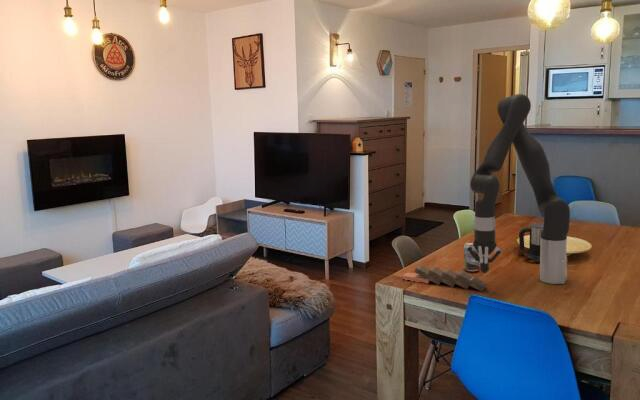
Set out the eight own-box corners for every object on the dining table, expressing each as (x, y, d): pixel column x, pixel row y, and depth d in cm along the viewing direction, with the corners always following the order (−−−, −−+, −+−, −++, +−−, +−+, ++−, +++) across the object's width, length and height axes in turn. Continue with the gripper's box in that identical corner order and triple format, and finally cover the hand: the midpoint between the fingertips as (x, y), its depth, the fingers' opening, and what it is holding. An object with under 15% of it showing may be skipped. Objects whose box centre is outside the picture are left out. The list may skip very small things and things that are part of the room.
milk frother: (546, 253, 237) (547, 222, 234) (561, 263, 221) (562, 229, 219) (515, 254, 237) (516, 223, 235) (528, 264, 222) (528, 231, 219)
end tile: (432, 275, 208) (407, 272, 214) (428, 279, 204) (402, 275, 210) (432, 280, 208) (407, 276, 214) (428, 284, 204) (402, 280, 210)
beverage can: (469, 273, 213) (469, 246, 211) (460, 269, 220) (460, 242, 218) (482, 271, 215) (482, 244, 213) (473, 267, 222) (473, 240, 220)
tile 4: (444, 277, 205) (420, 264, 210) (440, 280, 201) (416, 267, 206) (442, 281, 206) (418, 268, 211) (438, 285, 202) (414, 272, 206)
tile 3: (458, 279, 202) (433, 266, 207) (454, 283, 198) (429, 269, 203) (456, 283, 203) (432, 270, 208) (452, 287, 199) (427, 274, 204)
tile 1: (487, 283, 196) (461, 269, 201) (483, 287, 192) (457, 273, 197) (485, 287, 197) (459, 274, 202) (481, 291, 192) (455, 278, 197)
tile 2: (472, 281, 199) (447, 267, 204) (468, 285, 195) (442, 271, 200) (470, 285, 200) (445, 272, 205) (466, 289, 196) (441, 275, 201)
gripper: (463, 228, 191) (464, 272, 194) (500, 231, 183) (499, 277, 186) (470, 224, 197) (470, 267, 200) (505, 227, 190) (505, 271, 193)
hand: (484, 272), depth 193 cm, fingers closed
